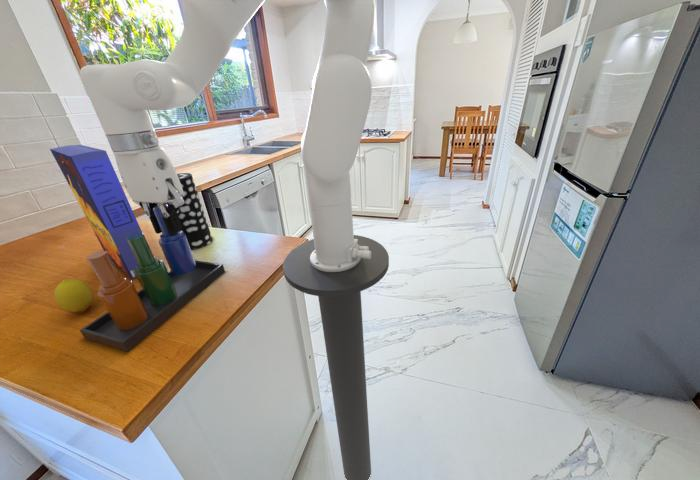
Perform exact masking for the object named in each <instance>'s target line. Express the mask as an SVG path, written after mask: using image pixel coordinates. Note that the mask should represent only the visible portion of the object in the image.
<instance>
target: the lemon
mask: <svg viewBox="0 0 700 480" xmlns="http://www.w3.org/2000/svg"><path fill="white" fill-rule="evenodd" d="M53 295H54V300H55V302H56V304H57V305H58V306H59V307H60V308H61V309H62V310H64V311H66V312H70V313H78V312H86V311H87V309H88V308H89V307H90V306H91V305H92V303H93V302H94V298H95V297H94V296H95V295H94V292H93V290H92V288H91V286H89V284H88V283H86V282H85V281H83V280H81V279H77V278H70V279H67V278H66V279H63V280H62V281H61V282H60V283H58V285H56V287H55V289H54V292H53Z"/></svg>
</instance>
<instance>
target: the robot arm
mask: <svg viewBox="0 0 700 480" xmlns="http://www.w3.org/2000/svg"><path fill="white" fill-rule="evenodd" d="M265 1H266V0H183V11H184V12H183V13H184V23H183V24H184V25H183V29H182V32H181V35H180V37H179V40H178V41H177V43H176V45H175V46H174V48H173V49H172V51H171V52H170V53H169V54H168V56H167V57H166V59H165V60H164V61H160V60H154V59H138V60H137V59H136V60H134V61H129V62H124V63H120V64H117V63H116V64H115V63H95V64H87V65H83V66H82V67H81V68H80V69H79V76H80V79H81V81H82V84H83V86H84V89H85V91H86V93H87V96H88V98H89V100H90V102H91V105H92V107H93V109H94V112H95V114H96V117H97V118H98V122H99V123H100V126H101V128H102V130H103V132H104V135H105V137H106V139H107V142H108V144H109V146H110V148H111V151H112V153H113V155H114V159H115V162H116V166H117V169H118V172H119V175H120V178H121V180H122V183H123V186H124V188H125V189H126V192H127V194H128V196H129V198H130V199H131V200H132V202H133V203H134V204H137V205H138V206H139V207H140V208H141V209H143V211H144V213H145V215H146V216H147V217H148V219H149V220H150V222H151V225H152V228H153V230H154V232H155V234H162V231H161V229H160V227H159V224H158V222H157V219H156V217H155V214H154V212H153V208H154V207H157V206H159V207H160V209H161V211H162V213H163V215H164V217H163V218H162V219H163V222H164V224H165V227H166V229H167V232H168V234H169V235H173V234H175V233H177V232H179V231H181V230H182V229H183V227H182V225H181V222H180V219H179V217H178V214H177V213H178V212H179V210H178V209H179V207H180V206H181V205H183V204H184V203H185V202H184V200H183V198H182V197H181V196H183V195H184V192H183V189H182V186H181V183H180V181H179V178H178V176H177V174H178V173H177V172H176V169H175V166H174V164H173V163H172V161H171V159H170V157H169V155H168V153H167V152H166V149H165V148H164V147H161V144H160V142H159V138H158V136H157V133H156V129H155V127H154V125H153V122H152V121H153V120H152V118H151V116H150V113H149V111H159V112H160V111H169V110H174V109H181V108H182V109H183V108H186V107H187V106H189V105H191V104H192V103H194V101H195V100H196V99H197V98H199V96H200V95H201V93H202V92H203V91H204V89H205V88H206V87H207V85H208V84H210V81H212V78H214V76H215V75H216V73H217V71H218V70H219V68H220V66H221V65H222V62H223V61H224V59H225V57H226V56H228V53H229V51H230V49H231V47H232V45H233V44H234V42H235V40H236V39H237V38H238V36H240V34H241V32H242V31H243V29H245V27H246V26H247V24H248V23H249V22H250V21H251V19H252V18H253V17H254V16H255V14H256V13H257V12H258V10H259V9H260V8H261V6H262V5H263V4H264V3H265ZM323 2H324V5H325V10H326V15H325V22H324V28H323V29H324V30H323V36H322V41H321V47H320V53H319V59H318V62H317V66H316V70H315V73H314V75H313V79H312V92H311V93H312V94H311V99H310V104H309V110H308V116H307V121H306V126H305V130H304V132H303V134H302V136H301V140H300V154H301V161H302V163H303V172H304V176H305V185H306V193H307V199H308V207H309V214H310V220H311V221H310V223H311V228H312V230H311V231H312V235H313V237H312V238H313V239H314V244H315V250H314V251H313V252H312V253H311V256H310V261H311V264H312V266H313V267H314V268H316V269H318V270H321V271H324V272H341V271H345V270H348V269H351V268H352V267H354V266H356V265H357V264H358V263H359V262H360V260H361V258H363V259H371V251H369V247H367V246H360V245H358V239H354V235H355V234H354V223H353V221H354V220H353V219H354V218H353V208H352V206H353V204H352V188H351V177H350V171H351V169H352V167H353V165H354V164H355V161H356V158H357V155H358V151H359V148H360V144H361V141H362V137H363V133H364V130H365V129H364V128H365V126H366V122H367V118H368V114H369V110H370V106H371V100H372V90H373V87H372V80H371V75H370V73H369V70H368V69H367V63H368V60H369V54H370V48H371V45H372V39H373V35H374V29H375V21H376V8H375V7H376V6H375V1H374V0H323ZM168 203H169V205H168V207H166V204H168Z"/></svg>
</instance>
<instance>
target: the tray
mask: <svg viewBox="0 0 700 480" xmlns="http://www.w3.org/2000/svg"><path fill="white" fill-rule="evenodd" d="M195 262H196V267H195V268H194V269H193V270H191V271H190V272H187V273H184V274H179V275H175V274H172V272H171V270H170V269H169V271H168V273H169V275H170V278H171V280H172V282H173V285H174V287H175V289H176V292H177V296H176V297H175V299H173V300H172V301H171V302H169V303H167V304H164V305H161V306H152V305H151V304H150V303H149V301H148V299H147V297H146V295H145V293H144V291H143V289H142V288H141V289H140V290H138V291H137V293H138V295H139V296H140V298H141V300H142V302H143V304H144V306H145V308H146V310H147V312H148V314H149V316H148V318H147V320H146V321H145V322H144V323H142V324H141V325H139V326H137V327H135V328H133V329H130V330H124V331H123V330H119V329H118V328H117V327H116V325H115V323H114V322H113V320H112V318H111V317H110V315H109V313H108V312H107V311H106V312H105V313H103V314H102V315H100V316H99V317H97V318H96V319H94V320H93V321H91V322H90V323H88V324H86V325H85V326H84V327H82V328H80V329H79V332H80V333H81V335H82V336H83V338H84V339H85V340H87V341H90V342H92V343H93V342H94V343H97V344H99V345H104V346H106V347H111V348H113V349H117V350H120V351H123V352H127V353H129V352H130V351H131V350H132V349H134V348H135V347H136V346H137V345H139V344H140V343H141V342H143V340H145V339H146V338H147V337H148V336H150V334H152V333H153V332H154V331H156V330H157V329H158V328H159V327H160V326H161V325H163V324H164V323H165V322H167V321H168V320H169V319H170V318H171V317H172V316H174V315H175V314H177V312H179V311H180V310H181V309H182V308H183V307H185V306H186V305H187V304H188V303H189V302H191V301H192V300H193V299H194V298H196V297H197V296H198V295H199V294H200V293H202V292H203V291H204V290H205V289H206V288H208V287H209V286H210V285H211V284H213V283H214V282H216V280H218V279H219V278H221V276H223V275H224V274H225V273H226V270H225V267H224V264H222V263H217V262H208V261H203V260H202V261H201V260H196V259H195Z"/></svg>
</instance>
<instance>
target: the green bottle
mask: <svg viewBox="0 0 700 480" xmlns="http://www.w3.org/2000/svg"><path fill="white" fill-rule="evenodd" d="M147 240H148V239H147V238H146V237H145V234H144V232H142V233H137V234H133V235H130V236H128V237H127V241H128V243H129V245H130V247H131V249H132V251H133V253H134V256H135V258H136V260H137V262H138V264H137V265H136V269H135V271H134V272H135V275H136V277H137V278H136V279H137V281H138V282H139V285H140V287H141V289H143V291H144V293H145V295H146V297H147V299H148V301H149V303H150V304H151V305H152V306H161V305H164V304H167V303H169V302H171V301H172V300H173V299H175V297H176V296H177V292H176V289H175V287H174V285H173V282H172V280H171V278H170V275H169V273H168V272H169V271H168V269H167V266H166V264H165V262H164V261H163V260H160V259H159V258H158V257H155V256H154V254H153V252H152V249H151V247H150V245H149V242H148V241H147Z"/></svg>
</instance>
